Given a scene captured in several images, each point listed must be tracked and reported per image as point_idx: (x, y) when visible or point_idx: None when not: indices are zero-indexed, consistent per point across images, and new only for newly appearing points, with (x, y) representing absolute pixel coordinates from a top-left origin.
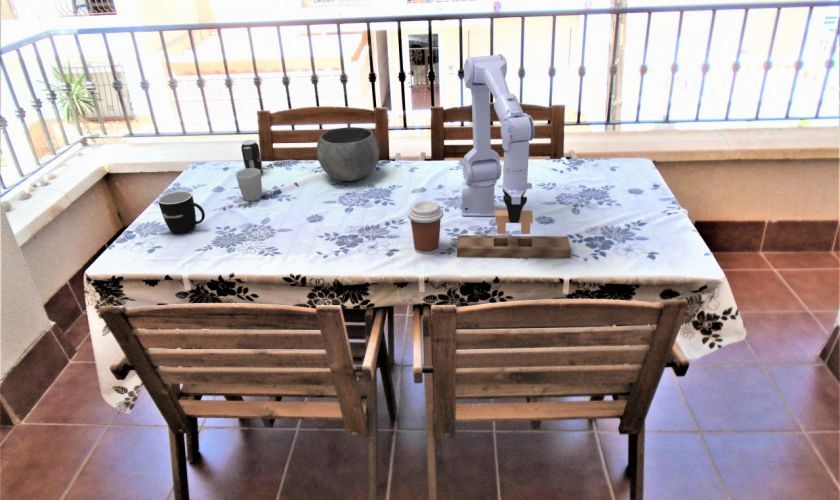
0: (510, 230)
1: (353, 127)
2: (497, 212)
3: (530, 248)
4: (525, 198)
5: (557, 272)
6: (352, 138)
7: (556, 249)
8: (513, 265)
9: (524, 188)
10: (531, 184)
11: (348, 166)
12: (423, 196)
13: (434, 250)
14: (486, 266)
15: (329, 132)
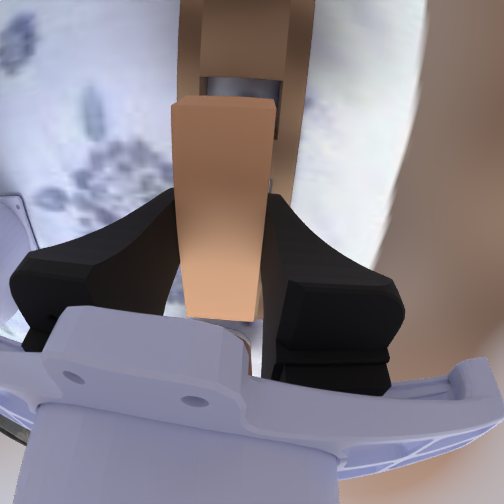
0: (84, 146)
1: None
2: (212, 311)
3: (299, 91)
4: (357, 307)
5: (409, 27)
6: None
7: None
8: (346, 155)
9: (340, 445)
10: (105, 370)
11: None
12: (13, 323)
13: (243, 339)
14: (336, 235)
15: (7, 433)
